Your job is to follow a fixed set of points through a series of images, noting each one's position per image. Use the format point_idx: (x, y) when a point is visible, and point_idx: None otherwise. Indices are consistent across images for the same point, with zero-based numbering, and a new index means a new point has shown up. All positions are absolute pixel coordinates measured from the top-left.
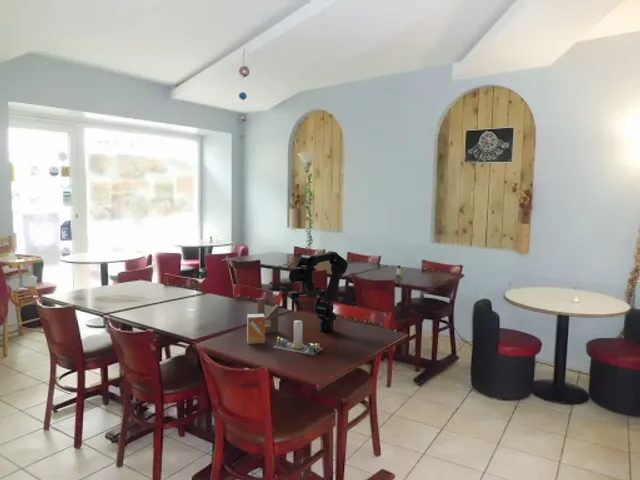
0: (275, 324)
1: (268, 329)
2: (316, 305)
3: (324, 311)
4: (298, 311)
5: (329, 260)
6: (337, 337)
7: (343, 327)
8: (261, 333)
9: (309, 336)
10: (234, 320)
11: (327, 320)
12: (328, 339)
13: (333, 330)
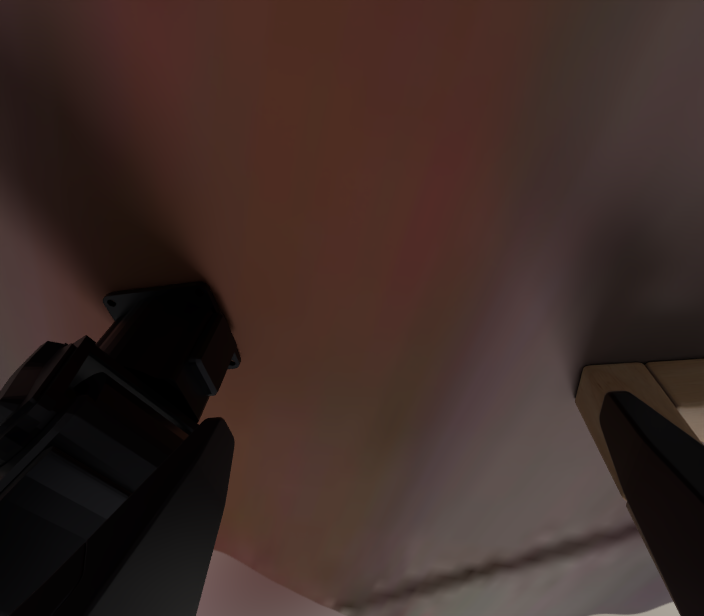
0: None
1: (693, 382)
2: (145, 514)
3: (83, 439)
4: (628, 395)
5: None
6: (58, 103)
7: None
8: None
9: (357, 203)
10: None
11: (118, 364)
12: (161, 42)
13: (111, 297)
